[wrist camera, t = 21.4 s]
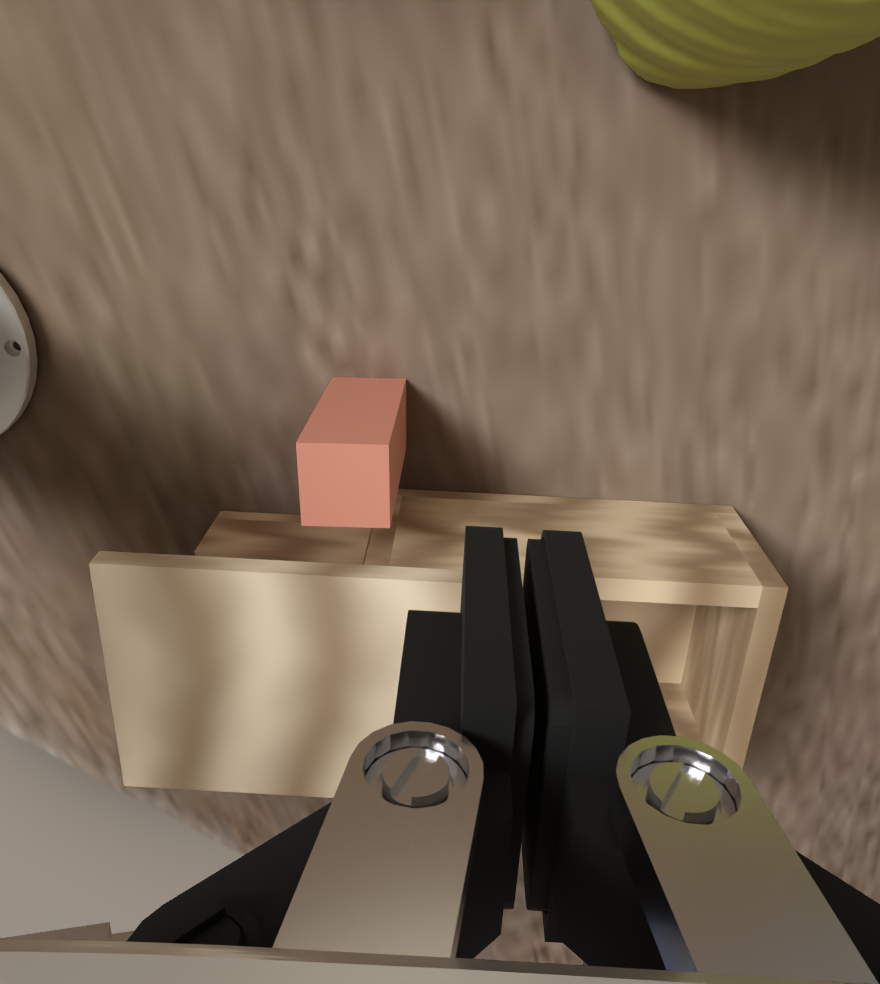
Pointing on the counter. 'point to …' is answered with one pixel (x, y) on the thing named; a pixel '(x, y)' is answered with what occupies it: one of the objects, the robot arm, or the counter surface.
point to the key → (353, 453)
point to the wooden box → (617, 572)
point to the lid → (253, 665)
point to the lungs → (732, 37)
